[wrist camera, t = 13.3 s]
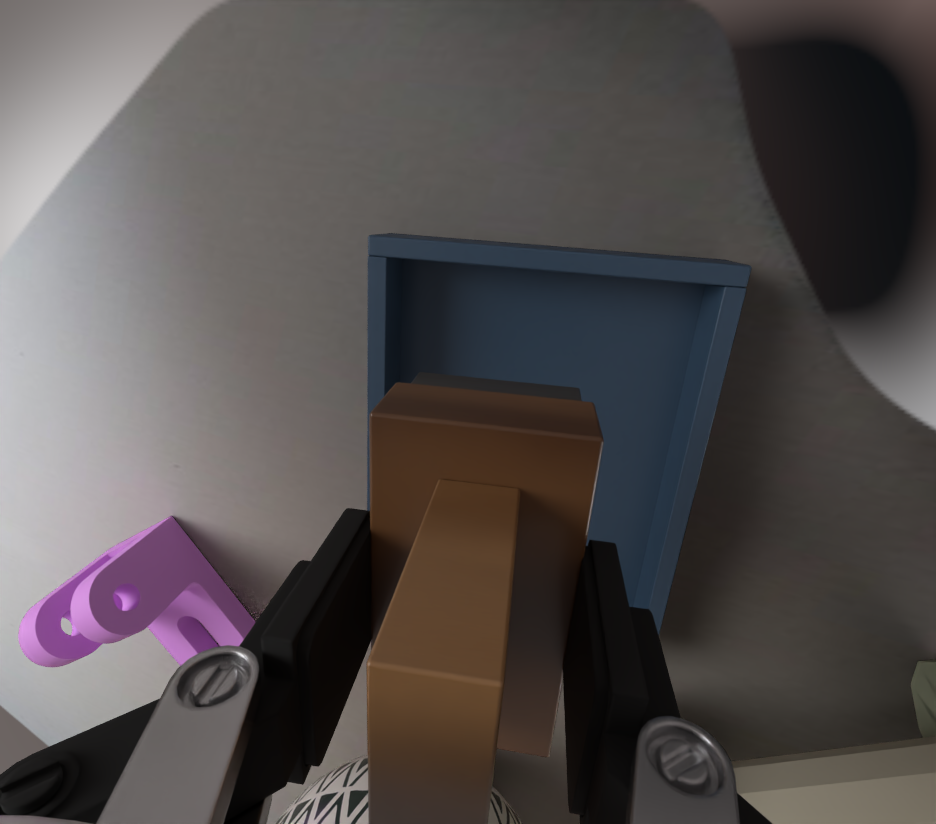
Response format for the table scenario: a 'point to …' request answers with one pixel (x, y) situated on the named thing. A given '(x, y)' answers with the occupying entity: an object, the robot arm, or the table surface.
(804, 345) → the table surface
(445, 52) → the table surface
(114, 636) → the bracket
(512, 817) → the planter
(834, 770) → the spool
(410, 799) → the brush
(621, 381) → the tray
